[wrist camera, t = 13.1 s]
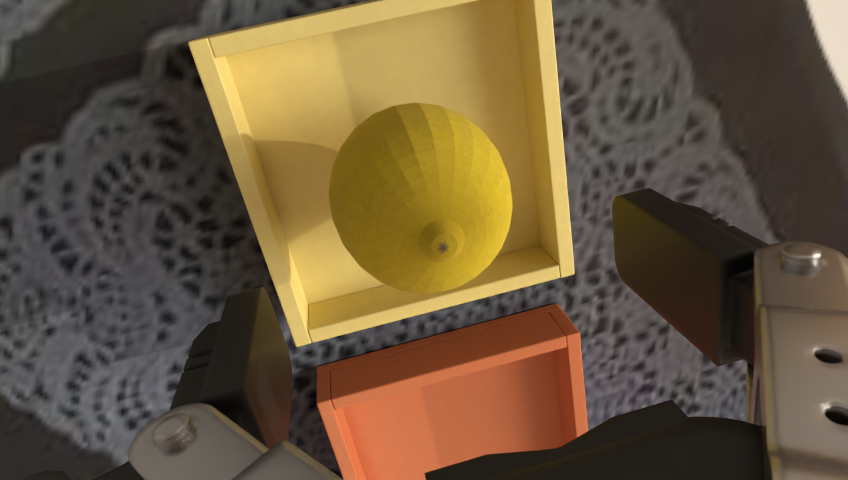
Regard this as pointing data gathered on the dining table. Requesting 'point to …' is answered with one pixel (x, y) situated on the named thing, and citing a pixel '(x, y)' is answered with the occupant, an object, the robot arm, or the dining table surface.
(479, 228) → the lemon
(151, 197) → the dining table surface
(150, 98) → the dining table surface
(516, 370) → the terracotta tray
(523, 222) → the cream tray
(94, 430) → the dining table surface
